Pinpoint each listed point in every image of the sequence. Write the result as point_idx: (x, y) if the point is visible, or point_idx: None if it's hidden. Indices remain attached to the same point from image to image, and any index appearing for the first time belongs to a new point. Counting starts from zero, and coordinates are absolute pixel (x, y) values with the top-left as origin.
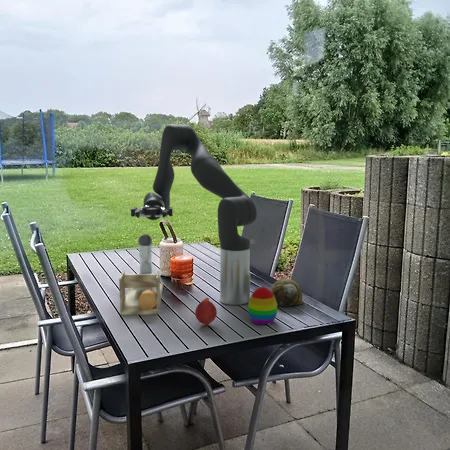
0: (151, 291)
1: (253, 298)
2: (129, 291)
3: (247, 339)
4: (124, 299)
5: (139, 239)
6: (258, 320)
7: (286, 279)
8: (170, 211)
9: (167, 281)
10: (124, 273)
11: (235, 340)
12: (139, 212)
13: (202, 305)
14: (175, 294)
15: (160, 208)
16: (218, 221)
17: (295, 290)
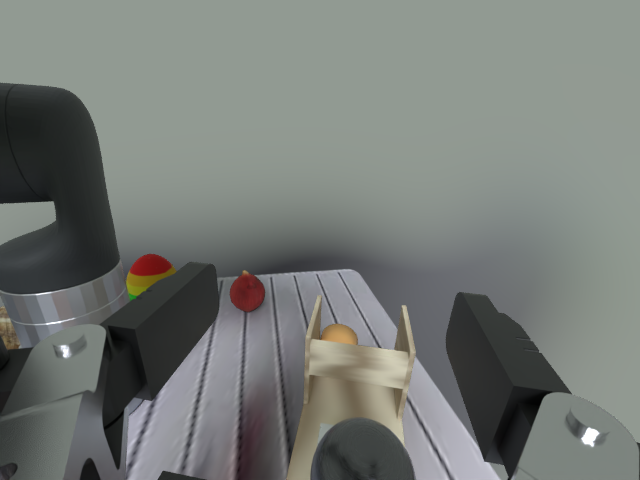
0: (329, 338)
1: (172, 267)
2: None
3: (220, 277)
4: (396, 394)
5: (403, 445)
6: None
7: (4, 307)
8: (11, 359)
9: None
10: (409, 353)
11: (235, 278)
12: (483, 370)
13: (255, 276)
14: None
15: (88, 414)
16: (84, 189)
17: None
